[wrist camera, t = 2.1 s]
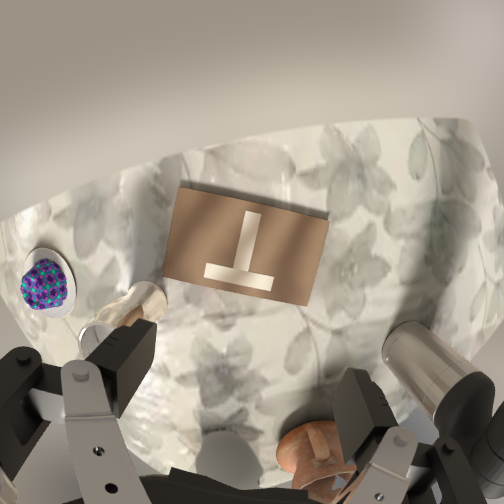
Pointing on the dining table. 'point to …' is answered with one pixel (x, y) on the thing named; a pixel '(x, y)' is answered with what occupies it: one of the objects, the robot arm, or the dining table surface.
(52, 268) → the pudding
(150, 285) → the beer glass
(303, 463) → the ceramic jug
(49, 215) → the dining table surface
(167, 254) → the board
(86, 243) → the dining table surface
